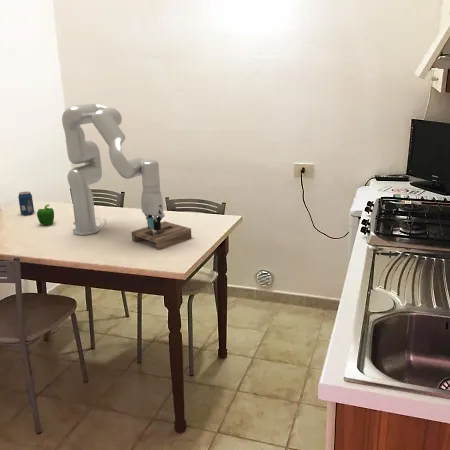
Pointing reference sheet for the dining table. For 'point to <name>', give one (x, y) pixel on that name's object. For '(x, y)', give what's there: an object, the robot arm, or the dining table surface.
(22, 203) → the soda can
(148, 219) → the headed peg
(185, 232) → the keyhole plate
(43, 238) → the dining table surface
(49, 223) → the bell pepper
